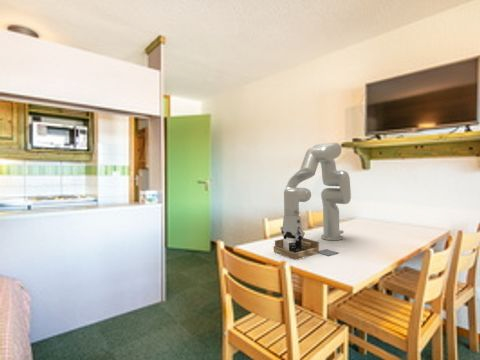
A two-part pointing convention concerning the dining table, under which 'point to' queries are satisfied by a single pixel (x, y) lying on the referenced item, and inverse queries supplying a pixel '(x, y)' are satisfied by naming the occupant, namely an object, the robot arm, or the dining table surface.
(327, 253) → the mat
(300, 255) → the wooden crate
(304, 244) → the offcut stack
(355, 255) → the dining table surface
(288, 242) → the medicine bottle
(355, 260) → the dining table surface
